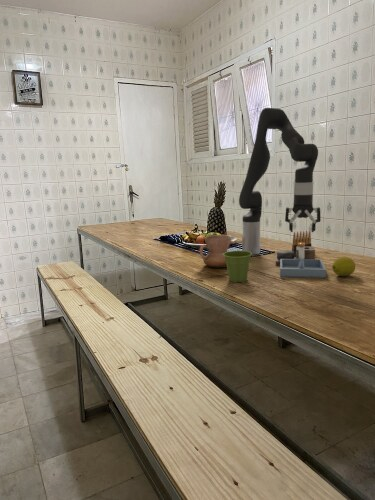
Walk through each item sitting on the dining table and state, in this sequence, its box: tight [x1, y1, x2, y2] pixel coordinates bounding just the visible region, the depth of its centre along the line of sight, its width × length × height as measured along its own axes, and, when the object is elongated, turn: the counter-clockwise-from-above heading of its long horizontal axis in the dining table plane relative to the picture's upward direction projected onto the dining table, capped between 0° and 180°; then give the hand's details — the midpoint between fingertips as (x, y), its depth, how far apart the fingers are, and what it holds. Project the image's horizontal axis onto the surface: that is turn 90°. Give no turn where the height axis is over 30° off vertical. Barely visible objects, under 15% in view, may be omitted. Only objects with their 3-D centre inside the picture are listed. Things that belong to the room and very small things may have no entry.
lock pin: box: [298, 243, 305, 269], centre depth 165 cm, size 3×3×12 cm
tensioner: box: [275, 246, 316, 266], centre depth 181 cm, size 18×12×7 cm, turn 77°
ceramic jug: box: [199, 234, 236, 269], centre depth 181 cm, size 18×14×14 cm
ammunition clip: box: [291, 230, 312, 254], centre depth 199 cm, size 11×2×12 cm, turn 105°
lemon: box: [331, 256, 356, 277], centre depth 156 cm, size 11×8×8 cm
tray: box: [279, 258, 327, 279], centre depth 166 cm, size 18×18×4 cm
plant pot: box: [223, 250, 253, 283], centre depth 156 cm, size 12×12×11 cm
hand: (302, 231), depth 162 cm, fingers open, 8 cm apart
